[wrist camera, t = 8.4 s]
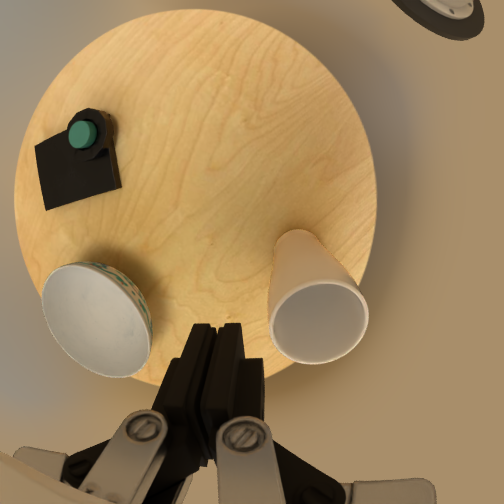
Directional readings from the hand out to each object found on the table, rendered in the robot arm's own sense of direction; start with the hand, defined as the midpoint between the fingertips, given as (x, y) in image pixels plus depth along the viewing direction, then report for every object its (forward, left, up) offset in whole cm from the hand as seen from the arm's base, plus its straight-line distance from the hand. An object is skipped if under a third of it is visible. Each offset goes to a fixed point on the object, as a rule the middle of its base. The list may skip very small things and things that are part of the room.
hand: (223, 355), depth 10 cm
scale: (-11, -20, -22) cm, 32 cm away
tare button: (-13, -16, -19) cm, 28 cm away
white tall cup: (+4, +5, -22) cm, 23 cm away
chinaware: (+7, -19, -22) cm, 30 cm away
